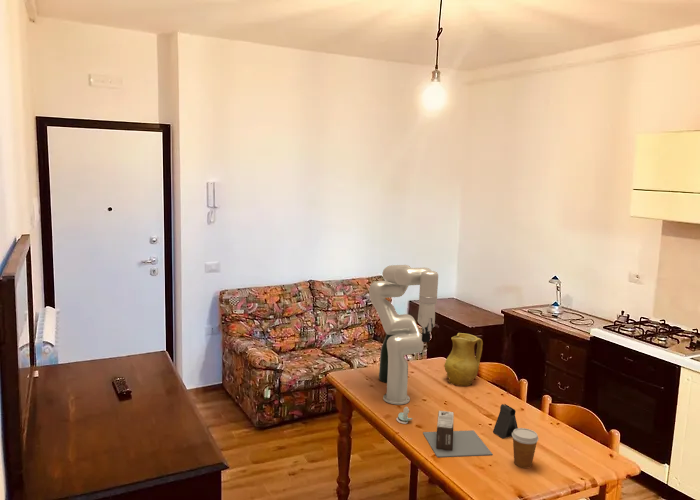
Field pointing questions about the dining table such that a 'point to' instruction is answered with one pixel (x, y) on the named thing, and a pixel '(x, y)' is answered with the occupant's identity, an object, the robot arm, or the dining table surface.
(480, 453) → the mat
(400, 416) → the pacifier
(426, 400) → the dining table surface
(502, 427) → the phone stand
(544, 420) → the dining table surface
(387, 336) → the dark green bottle
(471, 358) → the pitcher
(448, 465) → the dining table surface
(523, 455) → the disposable coffee cup
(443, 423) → the coffee box
